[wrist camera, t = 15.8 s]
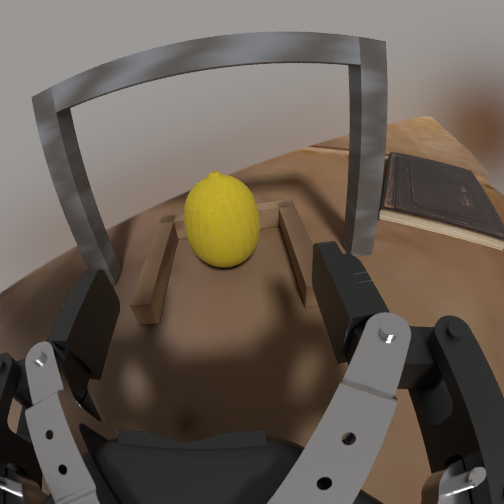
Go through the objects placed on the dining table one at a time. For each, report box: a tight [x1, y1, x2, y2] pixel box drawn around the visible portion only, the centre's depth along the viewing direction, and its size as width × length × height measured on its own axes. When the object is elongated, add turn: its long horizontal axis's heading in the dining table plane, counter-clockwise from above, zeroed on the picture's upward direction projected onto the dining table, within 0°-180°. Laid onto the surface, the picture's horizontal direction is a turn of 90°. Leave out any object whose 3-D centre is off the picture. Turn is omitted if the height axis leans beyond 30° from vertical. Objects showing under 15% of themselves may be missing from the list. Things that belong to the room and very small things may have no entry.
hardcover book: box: [378, 152, 504, 251], centre depth 31 cm, size 16×23×2 cm
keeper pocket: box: [32, 32, 387, 325], centre depth 18 cm, size 24×12×17 cm, turn 94°
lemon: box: [184, 171, 260, 267], centre depth 20 cm, size 6×6×8 cm
